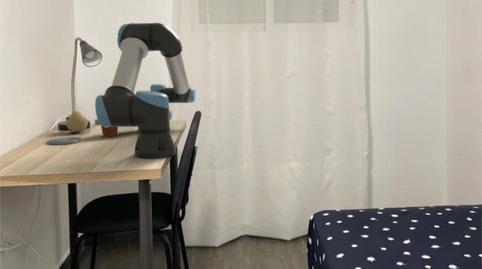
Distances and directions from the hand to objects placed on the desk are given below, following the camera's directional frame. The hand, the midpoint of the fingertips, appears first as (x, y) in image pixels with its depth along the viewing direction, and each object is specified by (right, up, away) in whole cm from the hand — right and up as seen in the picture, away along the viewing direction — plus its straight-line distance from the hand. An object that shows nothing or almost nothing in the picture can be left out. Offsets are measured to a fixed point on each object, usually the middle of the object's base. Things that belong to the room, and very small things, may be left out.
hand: (99, 123), depth 211 cm
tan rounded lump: (-16, -4, +17) cm, 24 cm away
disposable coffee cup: (+3, -6, +5) cm, 8 cm away
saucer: (-13, -8, -7) cm, 17 cm away
